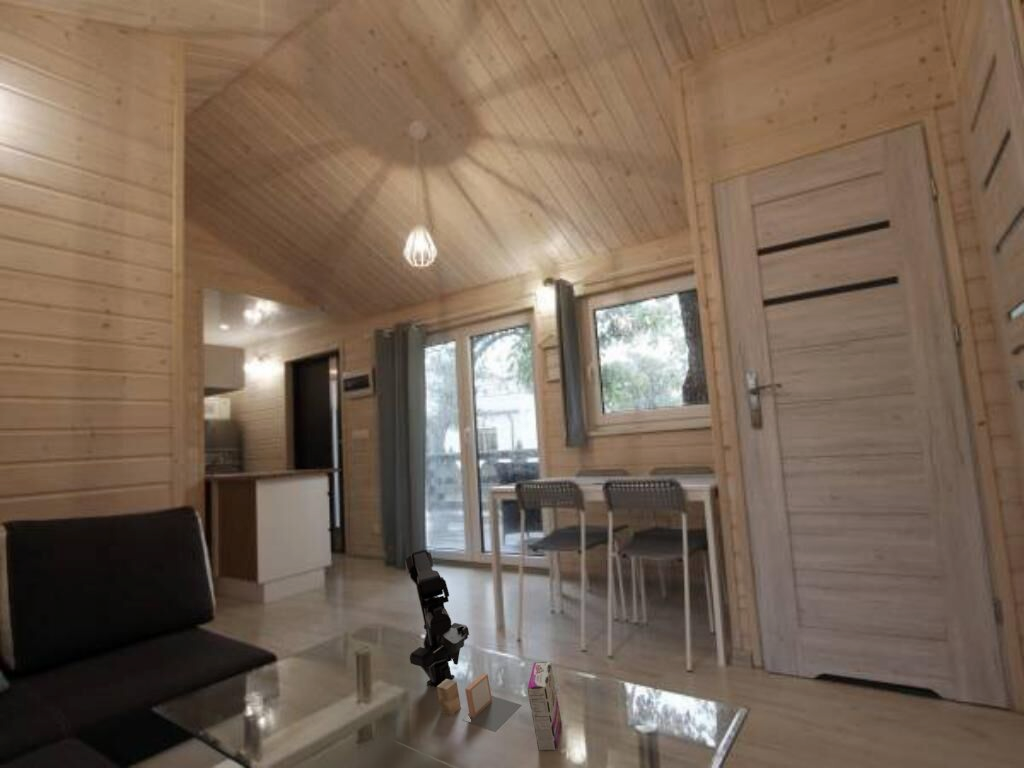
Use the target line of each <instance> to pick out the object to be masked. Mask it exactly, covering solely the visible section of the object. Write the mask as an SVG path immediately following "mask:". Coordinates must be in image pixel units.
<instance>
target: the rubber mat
mask: <svg viewBox="0 0 1024 768" xmlns="http://www.w3.org/2000/svg"><path fill="white" fill-rule="evenodd" d="M491 697H492V702H491V703H490V704H489V705H488V706H486V707H485V708H484V709H483V710H482V711H481V712H480V713H479V714H478V715H477V716H476V717H475V718H473V717H470V715H469V713H468V714H467V715H468V716H469V717H470V719H471V723H470V724H473V725H475V726H478V727H481V728H482V729H487V730H489V731H491V732H495V733H496V732H497V731H498V730H499V729H500V728H501V727H502V726H503V725H504V724H505V723H506V722H507V721H508V720H509V719H510V718H511V717H512V716H513V714H515V713H516V712H517V710H519V709H520V708H521V707H522V704H520V703H516V702H514V701H510V700H507V699H503V698H501V697H498V696H493V695H491Z"/></svg>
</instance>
